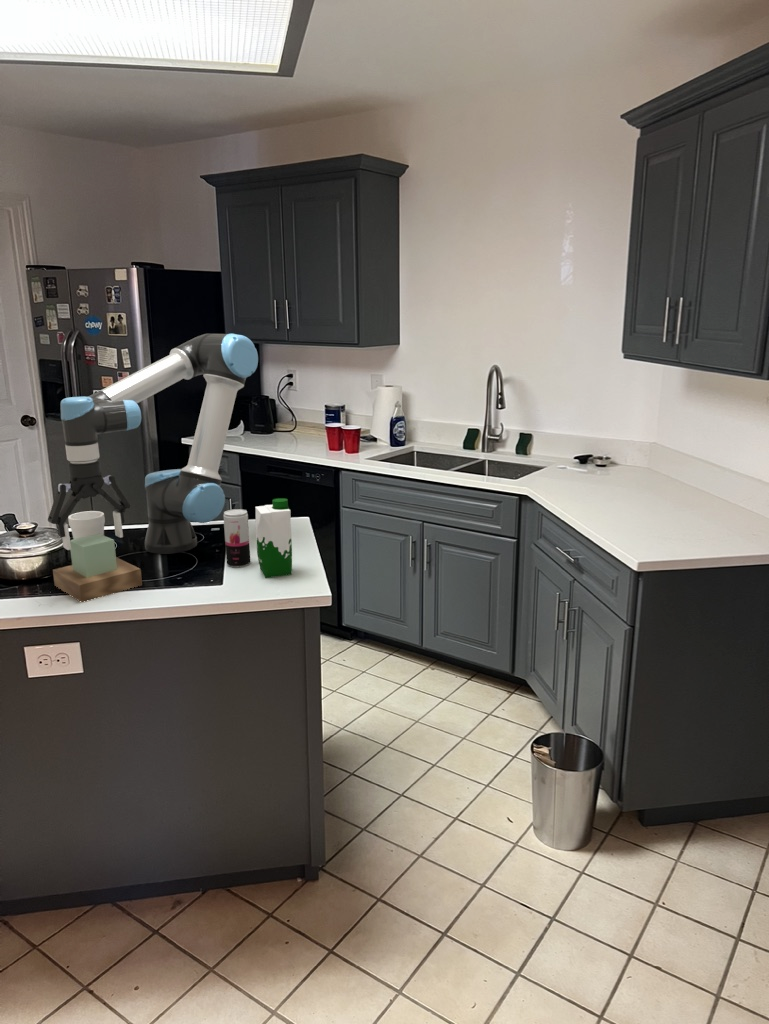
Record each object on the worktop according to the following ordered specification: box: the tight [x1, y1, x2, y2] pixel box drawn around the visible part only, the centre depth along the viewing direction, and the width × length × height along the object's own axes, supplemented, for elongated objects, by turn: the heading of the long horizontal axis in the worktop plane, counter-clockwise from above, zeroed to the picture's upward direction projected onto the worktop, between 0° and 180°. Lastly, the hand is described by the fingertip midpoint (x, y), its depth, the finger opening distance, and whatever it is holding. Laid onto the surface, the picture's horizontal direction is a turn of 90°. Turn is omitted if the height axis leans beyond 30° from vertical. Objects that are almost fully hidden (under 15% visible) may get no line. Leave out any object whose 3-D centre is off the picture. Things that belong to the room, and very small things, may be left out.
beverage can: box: [223, 508, 251, 568], centre depth 208 cm, size 7×7×15 cm
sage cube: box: [69, 534, 117, 577], centre depth 192 cm, size 8×8×8 cm
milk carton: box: [254, 497, 293, 579], centre depth 200 cm, size 9×9×20 cm
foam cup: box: [67, 510, 106, 539], centre depth 213 cm, size 10×9×13 cm
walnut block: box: [52, 556, 143, 603], centre depth 194 cm, size 16×16×5 cm
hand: (93, 542), depth 191 cm, fingers open, 13 cm apart
